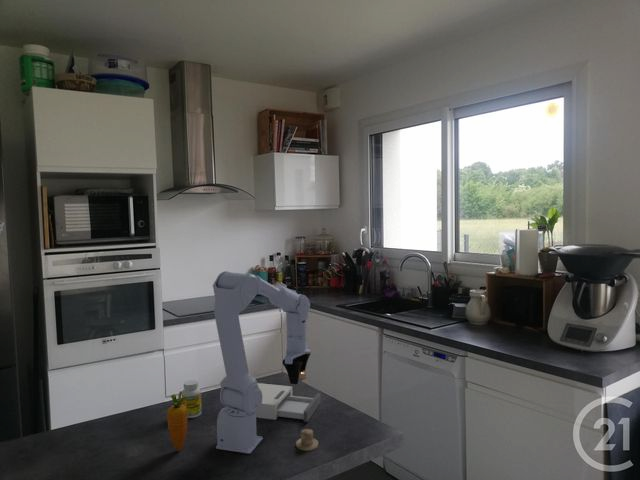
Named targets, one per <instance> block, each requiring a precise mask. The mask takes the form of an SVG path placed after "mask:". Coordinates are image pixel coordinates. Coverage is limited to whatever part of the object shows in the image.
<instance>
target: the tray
mask: <svg viewBox="0 0 640 480" xmlns="http://www.w3.org/2000/svg"><path fill="white" fill-rule="evenodd" d="M321 402H322V396H321V393H320V392H317V393H316V395H315V396H314V397H307V396H306V397H305V396H296V395H292V396H289V395H287V396H286V397H285V398H284V399H283V400H282V401H281V402H280V403H279V404H278V406H277V417H281V418H282V417H283V418H288V419H289V418H290V419H297V420H303V422H304V423H308V422H309V421H310V419H311V418H312V416H313V415H314V413H315V411H316V410H318V408H319V406H320V405H321Z"/></svg>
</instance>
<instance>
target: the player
mask: <svg viewBox="0 0 640 480" xmlns="http://www.w3.org/2000/svg"><path fill="white" fill-rule="evenodd" d="M257 384H258V387H259V389H260V390H261V392H262V403H261V406H260V408H259V409H258V411H256V419H266V420H275V421H276V420H277V419H278V416H277V406H278V404H279V403H280V402H281V401H282V400H283V399H284V398H285V397H286V396H287V395H289V396H293V386H289V385H280V384H279V385H278V384H270V383H269V384H268V383H259V382H257Z"/></svg>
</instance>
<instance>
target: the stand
mask: <svg viewBox="0 0 640 480" xmlns="http://www.w3.org/2000/svg"><path fill="white" fill-rule="evenodd" d="M295 446H296V448H297V449H298V450H299V451H303V452H309V451H315V450H316V449H318V447H319V441H318V440H317V439H316V438H314V431H313V430H312V429H311V428H305V429H302V430H301V431H300V438H299V439H297V440H296V441H295Z"/></svg>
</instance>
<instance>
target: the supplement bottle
mask: <svg viewBox="0 0 640 480" xmlns="http://www.w3.org/2000/svg"><path fill="white" fill-rule="evenodd" d="M198 386H199V381H197V380H195V379H193V380H191V379H190V380H186V381H184V382H183V388H184V389H183V390H182V395H181V398H182V397H184V396H186V397H187V398H185V399H184V400H183V401H182V403H181V405H184V406H185V407H186V408H187V411H188V419H193V418H197V417H199V416H201V415H202V412H203V411H202V392H201V389H200V387H198Z"/></svg>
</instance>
